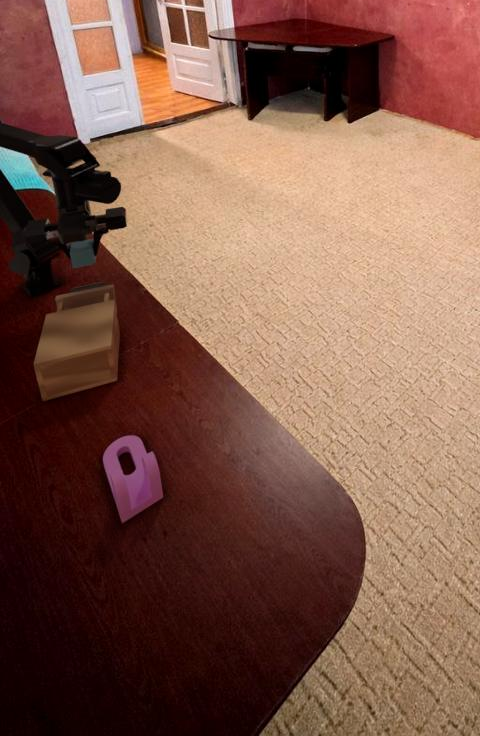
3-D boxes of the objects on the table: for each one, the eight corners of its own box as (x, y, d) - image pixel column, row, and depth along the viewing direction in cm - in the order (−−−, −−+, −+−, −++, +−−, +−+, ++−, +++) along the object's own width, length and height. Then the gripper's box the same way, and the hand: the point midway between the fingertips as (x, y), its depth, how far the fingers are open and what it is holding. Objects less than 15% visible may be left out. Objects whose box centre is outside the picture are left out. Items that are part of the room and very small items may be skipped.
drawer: (64, 308, 107) (59, 282, 104) (118, 296, 111) (114, 272, 109) (52, 364, 93) (46, 336, 90) (114, 348, 97) (110, 321, 95)
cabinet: (54, 348, 97) (46, 314, 94) (119, 332, 102) (114, 299, 99) (42, 401, 86) (33, 364, 83) (117, 380, 91) (110, 345, 88)
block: (74, 258, 109) (71, 242, 108) (96, 254, 111) (93, 238, 110) (72, 268, 106) (69, 252, 104) (95, 264, 108) (92, 248, 106)
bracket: (163, 497, 72) (158, 464, 70) (122, 523, 69) (115, 489, 66) (138, 435, 81) (133, 404, 79) (100, 455, 78) (93, 423, 75)
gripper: (9, 221, 92) (26, 289, 97) (121, 204, 100) (131, 267, 106) (20, 196, 101) (35, 259, 107) (122, 183, 110) (131, 242, 115)
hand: (84, 257), depth 108 cm, fingers closed on block, 4 cm apart
